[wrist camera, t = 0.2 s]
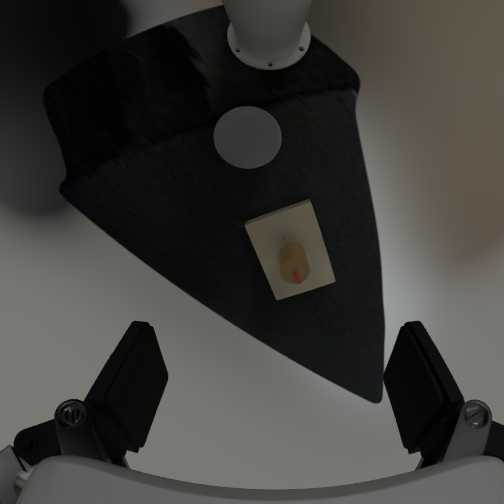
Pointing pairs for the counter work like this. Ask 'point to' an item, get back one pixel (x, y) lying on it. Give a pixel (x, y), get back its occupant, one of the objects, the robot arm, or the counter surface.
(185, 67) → the counter surface
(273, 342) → the counter surface
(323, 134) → the counter surface
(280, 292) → the plate
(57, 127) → the counter surface
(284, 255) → the tap handle
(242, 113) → the canned food
